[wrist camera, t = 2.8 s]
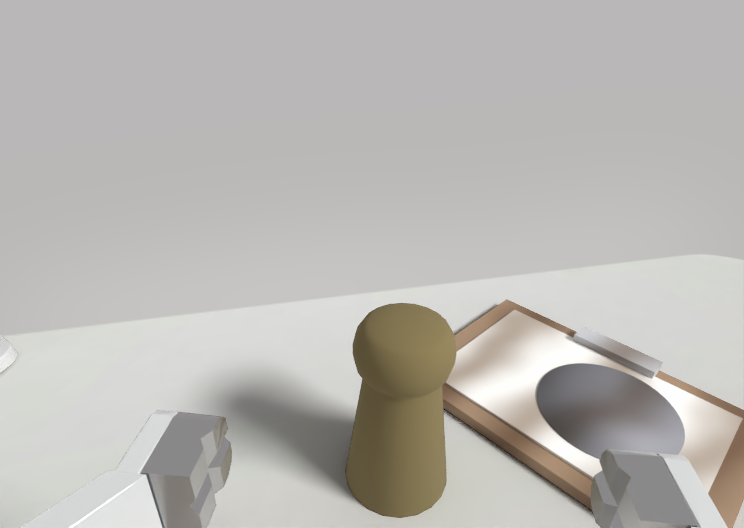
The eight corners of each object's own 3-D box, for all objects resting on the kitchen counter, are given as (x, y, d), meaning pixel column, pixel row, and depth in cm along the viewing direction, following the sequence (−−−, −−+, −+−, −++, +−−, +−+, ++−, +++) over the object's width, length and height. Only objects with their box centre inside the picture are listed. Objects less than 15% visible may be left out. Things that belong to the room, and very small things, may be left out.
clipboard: (401, 379, 36) (403, 362, 35) (505, 306, 45) (508, 291, 44) (706, 589, 24) (718, 570, 23) (767, 432, 32) (778, 415, 32)
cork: (345, 430, 32) (345, 287, 26) (438, 429, 32) (456, 287, 27) (344, 518, 26) (343, 361, 21) (455, 516, 27) (482, 360, 21)
